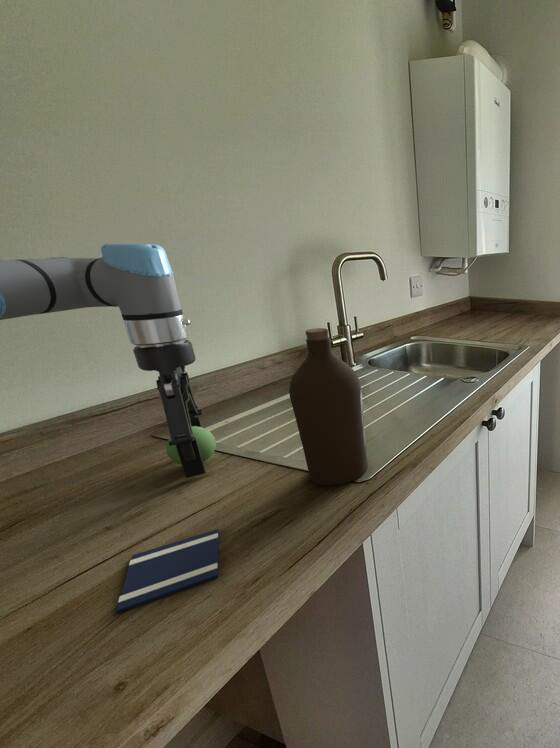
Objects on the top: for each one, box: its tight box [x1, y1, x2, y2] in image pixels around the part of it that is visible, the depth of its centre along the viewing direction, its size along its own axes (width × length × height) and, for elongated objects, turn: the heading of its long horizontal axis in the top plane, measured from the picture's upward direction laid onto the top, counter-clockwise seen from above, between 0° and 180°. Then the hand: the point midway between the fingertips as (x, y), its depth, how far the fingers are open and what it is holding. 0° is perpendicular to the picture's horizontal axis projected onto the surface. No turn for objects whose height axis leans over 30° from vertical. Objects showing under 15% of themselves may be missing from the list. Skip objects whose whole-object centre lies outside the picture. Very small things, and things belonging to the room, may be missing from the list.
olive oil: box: [288, 327, 369, 487], centre depth 67 cm, size 11×11×25 cm
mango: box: [165, 426, 217, 466], centre depth 73 cm, size 7×7×7 cm
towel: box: [115, 528, 220, 614], centre depth 50 cm, size 10×9×1 cm
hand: (197, 461), depth 74 cm, fingers open, 10 cm apart
